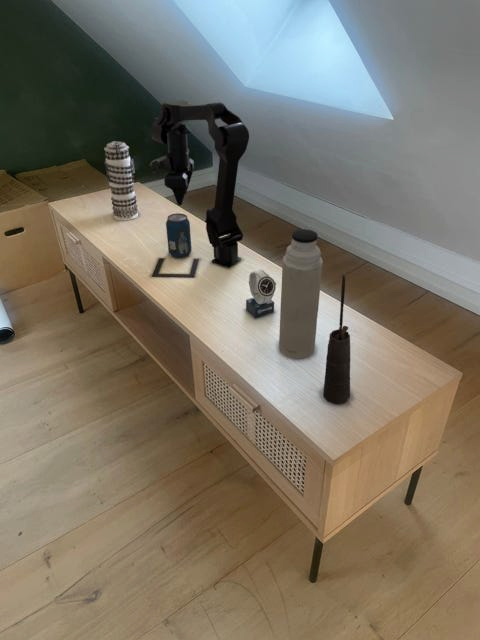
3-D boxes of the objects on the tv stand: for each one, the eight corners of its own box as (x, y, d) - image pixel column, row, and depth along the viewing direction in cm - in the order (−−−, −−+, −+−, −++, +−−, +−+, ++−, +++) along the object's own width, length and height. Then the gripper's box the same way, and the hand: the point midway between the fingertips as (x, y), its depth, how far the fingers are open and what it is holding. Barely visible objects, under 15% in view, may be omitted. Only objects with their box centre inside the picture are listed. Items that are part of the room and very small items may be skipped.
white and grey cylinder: (111, 212, 179) (100, 140, 165) (137, 209, 182) (128, 138, 168) (114, 222, 172) (102, 148, 158) (141, 218, 175) (131, 145, 160)
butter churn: (334, 370, 106) (349, 251, 90) (371, 394, 100) (394, 270, 84) (304, 390, 101) (314, 267, 85) (341, 415, 95) (359, 289, 79)
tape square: (159, 258, 149) (158, 258, 149) (198, 259, 149) (198, 258, 149) (151, 276, 140) (151, 276, 140) (194, 277, 140) (194, 276, 140)
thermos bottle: (271, 349, 112) (275, 234, 96) (292, 333, 117) (298, 221, 102) (301, 363, 108) (310, 246, 92) (321, 346, 113) (333, 231, 97)
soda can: (178, 247, 156) (175, 210, 149) (196, 252, 153) (194, 215, 146) (164, 256, 151) (160, 218, 144) (182, 261, 148) (179, 223, 141)
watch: (258, 322, 121) (259, 283, 115) (242, 306, 127) (242, 268, 121) (278, 316, 123) (280, 277, 117) (261, 301, 129) (262, 263, 123)
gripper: (156, 139, 154) (161, 189, 162) (143, 157, 138) (150, 210, 147) (192, 139, 153) (195, 189, 162) (183, 157, 138) (187, 211, 146)
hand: (182, 199), depth 154 cm, fingers open, 9 cm apart
